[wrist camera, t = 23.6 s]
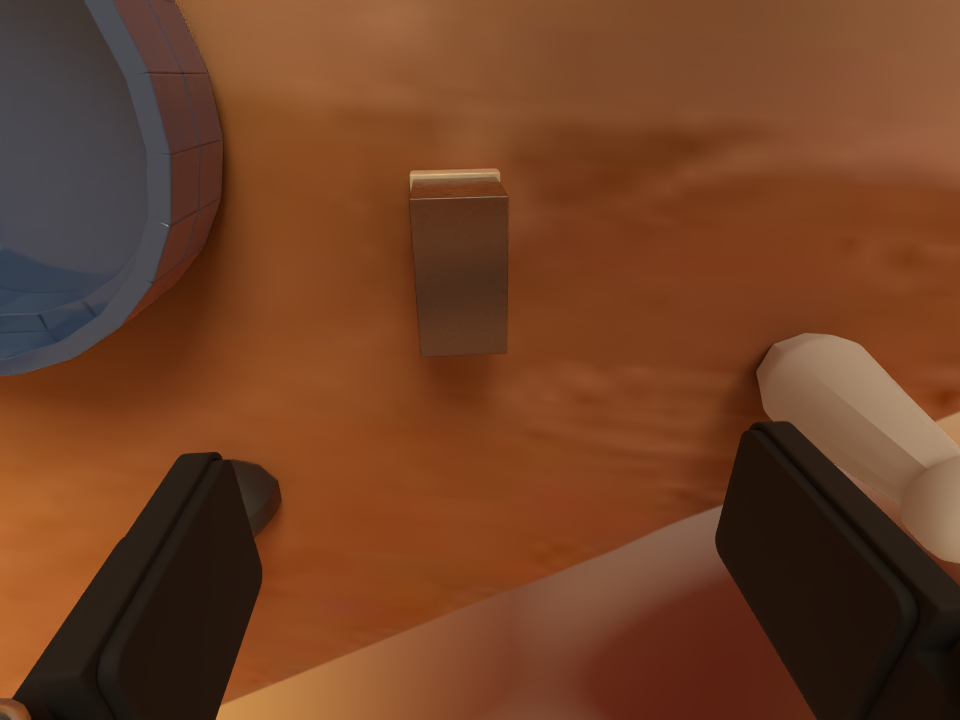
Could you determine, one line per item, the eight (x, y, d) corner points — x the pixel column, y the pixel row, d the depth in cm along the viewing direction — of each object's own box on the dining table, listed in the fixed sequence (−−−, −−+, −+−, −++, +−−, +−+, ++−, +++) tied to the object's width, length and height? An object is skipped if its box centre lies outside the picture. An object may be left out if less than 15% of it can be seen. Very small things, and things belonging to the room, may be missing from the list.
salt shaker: (723, 395, 32) (887, 576, 20) (775, 308, 29) (995, 457, 18) (805, 416, 33) (1004, 599, 21) (862, 334, 30) (1120, 491, 19)
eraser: (410, 170, 25) (404, 193, 20) (497, 167, 25) (512, 189, 20) (420, 312, 28) (417, 362, 23) (497, 309, 28) (510, 357, 23)
